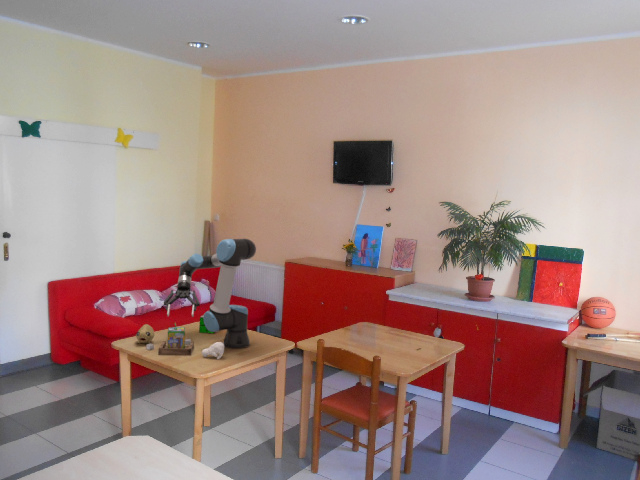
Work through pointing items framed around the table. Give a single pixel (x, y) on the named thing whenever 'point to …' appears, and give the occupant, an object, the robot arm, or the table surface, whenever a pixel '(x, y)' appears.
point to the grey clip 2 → (187, 341)
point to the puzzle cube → (204, 327)
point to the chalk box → (176, 337)
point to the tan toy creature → (145, 334)
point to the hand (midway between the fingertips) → (180, 315)
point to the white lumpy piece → (214, 350)
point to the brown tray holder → (175, 350)
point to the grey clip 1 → (149, 347)
